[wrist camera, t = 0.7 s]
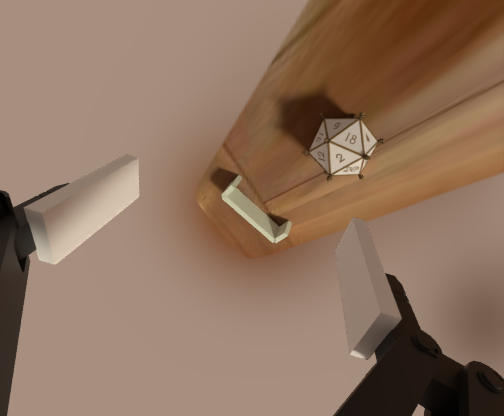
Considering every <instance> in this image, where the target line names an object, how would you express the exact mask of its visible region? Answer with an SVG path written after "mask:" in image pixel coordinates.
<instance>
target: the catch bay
mask: <svg viewBox="0 0 504 416" xmlns="http://www.w3.org/2000/svg"><path fill="white" fill-rule="evenodd" d="M241 179H242V177H241V176H240V175H238V176H237V177H236V178H235V179H234V180H233V181H232V182H231V183H230V184H229V186H228V187H227V188H226V190H225V191H224V192H223V194H222V196H223V197H222V199H223V200H224V201H225V202H226V203H228V204H229V205H230V206H231V207H232V208H233V209H234V210H236V211H237V212H238V213H239V214H240V215H241V216H242V217H244V218H245V219H246V220H247V221H248V222H249V223H250V224H252V225H253V226H254V227H255V228H256V229H257V230H259V231H260V232H261V233H262V234H263V235H264V236H265V237H267V238H268V239H269V240H270V241H271V242H272V243H273V242H275V243H277V242H279V241H280V240H282V239H284V238H285V237H287V236H288V234H289V231H290V228H291V224H292V223H291V222H290V221H289V220H288V221H287V222H285V223H284V224H283V225H281V226H280V227H279V226H278V225H277V224H276V223H275V222H274V221H273V220H272V219H270V218H269V217H268V216H267V215H266V214H265V213H264V212H263V211H261V210H260V209H259V208H258V207H257V206H256V205H255V204H254V203H253V202H251V201H250V200H249V199H248V198H247V197H246V196H245V195H244V194H242V193H241V192H240V191H239V190H238V189H237V188H236V186H237V185H238V183H239V182H240V181H241Z"/></svg>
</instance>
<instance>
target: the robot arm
mask: <svg viewBox="0 0 504 416" xmlns="http://www.w3.org/2000/svg"><path fill="white" fill-rule="evenodd" d="M138 168H139V166H138V157H134V156H130V155H124V156H122V157H120V158H119V159H117V160H115V161H113V162H111V163H109V164H107V165H105V166H103V167H101V168H99V169H97V170H95V171H93V172H91V173H89V174H88V175H86V176H84V177H82V178H80V179H78V180H76V181H74V182H72V183H67V184H63V185H59V186H56V187H54V188H52V189H50V190H48V191H47V192H43V193H41V194H40V195H39V196H35V197H34V198H32V199H30V200H28V201H26V202H24V203H21V204H20V205H18V206H15V207H13V206H12V203H11V199H10V197H9V194H8V193H7V192H5V191H1V190H0V416H7V411H8V404H9V398H10V392H11V384H12V378H13V372H14V365H15V358H16V352H17V345H18V338H19V332H20V325H21V317H22V311H23V305H24V298H25V291H26V285H27V277H28V271H29V265H30V259H29V256H28V255H29V254H31V253H32V252H33V251H35V250H36V251H37V255H38V258H39V260H41V261H44V262H48V263H51V264H54V265H56V264H57V263H58V262H59V261H61V260H62V259H63V258H64V257H66V256H67V255H68V254H69V253H70V252H72V251H73V250H74V249H75V248H77V247H78V246H79V245H80V244H81V243H83V242H84V241H85V240H87V239H88V238H89V237H90V236H91V235H93V234H94V233H95V232H96V231H98V230H99V229H100V228H101V227H103V226H104V225H105V224H106V223H107V222H109V221H110V220H111V219H112V218H114V217H115V216H116V215H117V214H118V213H120V212H121V211H122V210H123V209H125V208H126V207H127V206H128V205H130V204H131V203H132V202H133V201H135V200H136V199H137V198H138V197H139V169H138ZM335 258H336V265H337V271H338V278H339V285H340V292H341V299H342V305H343V312H344V319H345V326H346V333H347V340H348V346H349V353H350V355H353V356H356V357H360V358H363V359H366V360H368V359H369V358H370V357H371V356H372V355H373V353H374V352H375V355H376V359H377V363H376V364H375V365H374V366H373V367H372V368H371V370H370V371H369V372H368V373H367V374H366V376H365V377H364V378H363V380H362V381H361V382H360V383H359V385H358V386H357V387H356V388H355V390H354V391H353V392H352V393H351V394H350V396H349V397H348V398H347V399H346V401H345V402H344V403H343V404H342V405H341V407H340V408H339V409H338V410H337V412H336V413H335V414H334V415H333V416H412V414H413V412H414V411H415V409H416V407H417V405H418V404H420V405H421V406H423V407H424V408H425V411H424V416H504V379H503V378H502V377H501V376H500V375H499V374H498V373H497V372H496V371H494V370H493V369H492V368H490V367H489V366H487V365H485V364H483V363H481V362H477V361H472V362H469V363H468V364H467V365H466V366H463V365H461V364H460V363H458V362H456V361H454V360H452V359H451V358H449V357H447V356H445V355H444V354H442V351H441V348H440V347H439V345H438V344H437V342H436V341H435V340H434V339H433V338H432V337H431V336H430V335H428V334H427V333H425V332H424V331H422V330H421V329H420V326H419V324H418V322H417V319H416V317H415V314H414V312H413V310H412V307H411V305H410V304H409V300H408V298H407V296H406V293H405V291H404V289H403V286H402V284H401V283H400V282H399V281H398V280H397V278H396V277H395V276H393V275H390V274H386V273H385V272H384V269H383V266H382V264H381V261H380V258H379V256H378V253H377V251H376V248H375V245H374V242H373V239H372V237H371V234H370V231H369V229H368V226H367V223H366V221H365V220H361V219H358V218H354V217H352V219H351V221H350V223H349V225H348V227H347V229H346V231H345V233H344V235H343V237H342V239H341V241H340V243H339V245H338V247H337V249H336V251H335Z"/></svg>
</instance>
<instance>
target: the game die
mask: <svg viewBox="0 0 504 416" xmlns="http://www.w3.org/2000/svg"><path fill="white" fill-rule="evenodd" d="M364 116H365V115H364V112H362V113H360V115H359V118H356V117H357V116H356V114H355V115H354V116H352V118H325V116H324V114H322V113H320V117H321V118H322V119H323V121H322V123H321V125H320V127H319V130H318V132H317V134H316V136H315V138H314V140H313V142H312V144H311V147H310V149H309V151H303V152H302V154H304V155H305V154H306V155H307V154H310V155H311V156H312V157H313V159H314V160H315V161H316V162H317V163H318V164H319V165H320V166H321V167H322V168H323V169H324V170H325V172H324V174H325V175H327V174H329V176H328V177H327V181H330V180H331V178H332V176H343V175H359V178H360V179H362V180H363V177H364V176H363V175H361V172H362V170H363V169H364V167H365V165H366V163H367V161H368V160H369V159H370V156H371V154H372V153H373V151H374V149H375V147H376V145H377V144H378V143H383V142H385V141H386V140H384V139H383V138H382V139H379V140H377V139H376V137H375V136H374V135H373V134H372V132H371V131H370V130H369V128H368V127H367V126H366V125H365V123H364V122H363V121H362V118H363V117H364Z"/></svg>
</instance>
